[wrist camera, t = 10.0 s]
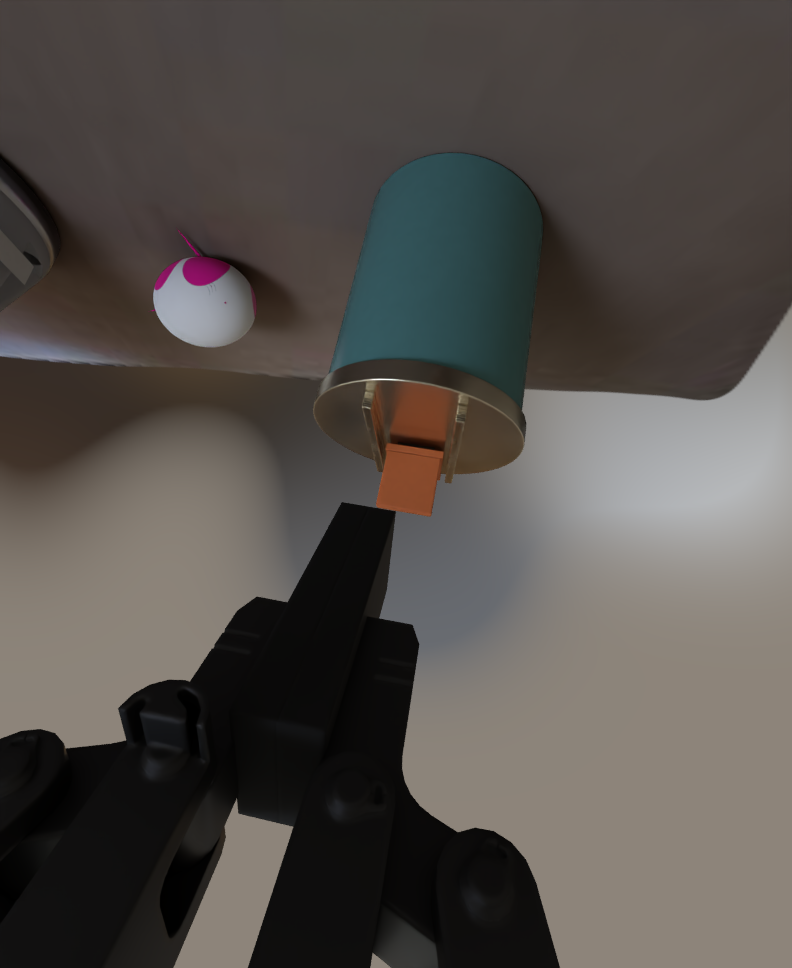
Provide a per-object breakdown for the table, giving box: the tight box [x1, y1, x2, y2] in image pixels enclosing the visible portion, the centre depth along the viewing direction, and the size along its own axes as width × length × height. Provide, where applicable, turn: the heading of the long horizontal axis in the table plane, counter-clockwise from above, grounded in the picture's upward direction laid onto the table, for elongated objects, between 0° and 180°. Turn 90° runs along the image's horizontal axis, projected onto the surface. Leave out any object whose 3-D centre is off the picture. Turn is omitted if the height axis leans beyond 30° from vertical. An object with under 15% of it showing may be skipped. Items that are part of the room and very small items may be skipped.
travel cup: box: [313, 153, 543, 483], centre depth 26 cm, size 11×11×14 cm
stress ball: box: [149, 229, 257, 347], centre depth 34 cm, size 8×8×7 cm
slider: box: [376, 443, 444, 516], centre depth 26 cm, size 4×3×3 cm
